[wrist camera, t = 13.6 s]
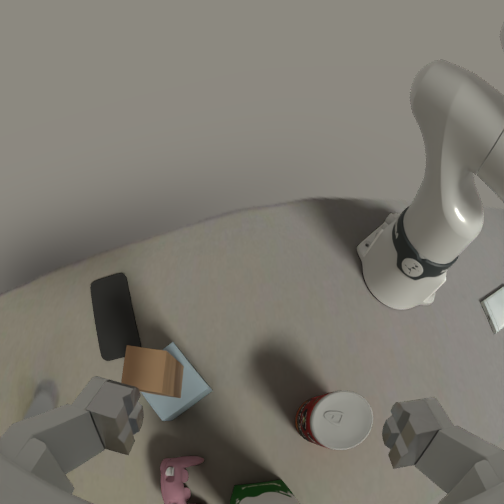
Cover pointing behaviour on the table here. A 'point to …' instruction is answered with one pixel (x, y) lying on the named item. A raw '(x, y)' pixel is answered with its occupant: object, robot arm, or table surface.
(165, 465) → the video game controller
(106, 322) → the phone
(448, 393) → the table surface
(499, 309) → the hard drive
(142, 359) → the walnut post
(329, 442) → the canned food
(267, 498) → the milk carton
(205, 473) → the table surface
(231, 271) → the table surface
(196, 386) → the base block
